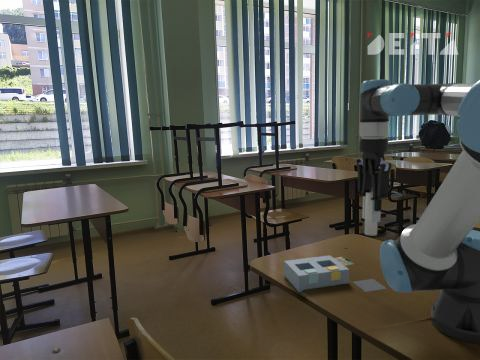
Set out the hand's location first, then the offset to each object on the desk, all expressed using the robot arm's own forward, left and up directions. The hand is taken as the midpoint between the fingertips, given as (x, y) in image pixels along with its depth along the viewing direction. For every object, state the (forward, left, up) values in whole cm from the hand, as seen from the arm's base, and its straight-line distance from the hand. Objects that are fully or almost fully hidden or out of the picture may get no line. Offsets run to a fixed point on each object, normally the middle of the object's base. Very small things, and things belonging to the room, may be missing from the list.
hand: (371, 219), depth 108 cm
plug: (0, 0, -4) cm, 4 cm away
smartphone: (+19, +3, -21) cm, 28 cm away
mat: (0, 0, -20) cm, 20 cm away
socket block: (+9, +13, -20) cm, 26 cm away
